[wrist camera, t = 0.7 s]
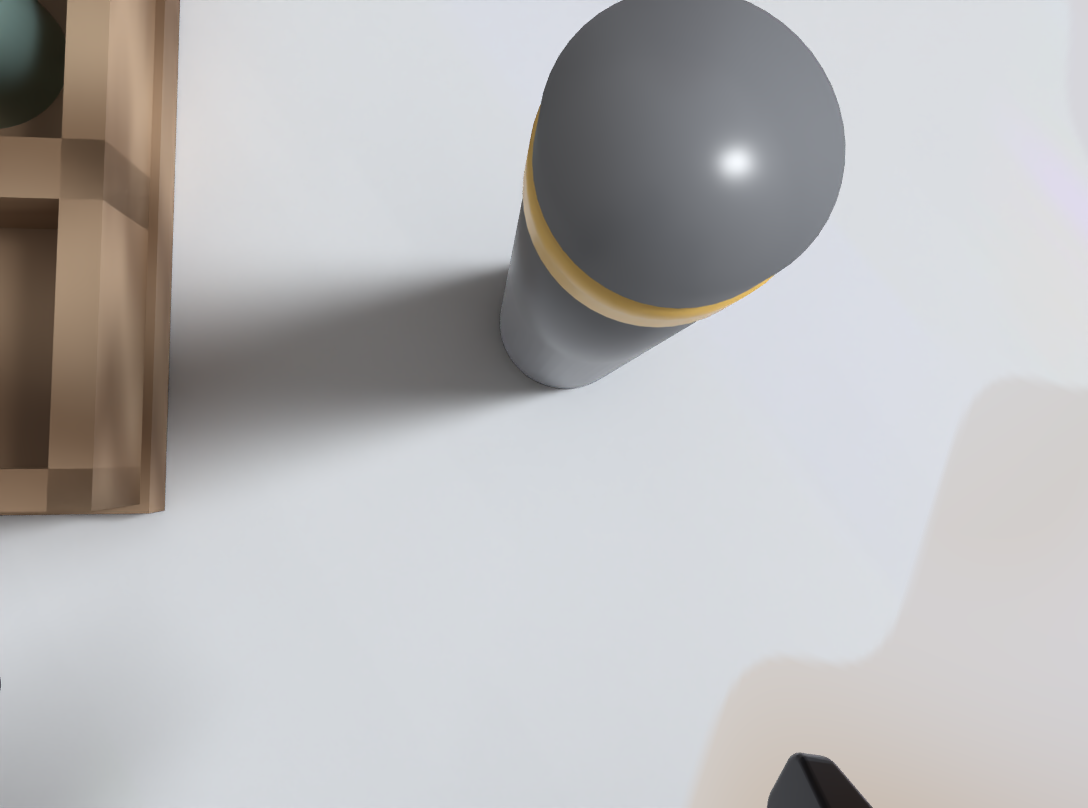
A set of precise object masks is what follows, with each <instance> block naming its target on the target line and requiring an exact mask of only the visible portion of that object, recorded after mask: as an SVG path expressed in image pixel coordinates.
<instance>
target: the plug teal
mask: <svg viewBox="0 0 1088 808" xmlns="http://www.w3.org/2000/svg"><path fill="white" fill-rule="evenodd" d="M65 45H66V39H65V36H64V33H63V31H62V29H61V27H60V26H59V24H58V23H57V21H56V20H55V19H54V17H53V16H52V15H51V14H50V13H49V12H48V11H47V10H46V9H45V8H44V7H43V6H42V4H41V3H40V2H39V1H38V0H0V129H2V128H9V127H13V126H16V125H20V124H22V123H25V122H27V121H29V120H31V119H33V118H35V117H36V116H38V115H39V114H41V113H42V112H43V111H45V110H46V109H47V108H48V107H49V106H50V105H51V104H52V103H53V101H54V100H55V99H56V98H57V96H58V95H59V93H60V91H61V90H62V88H63V85H64V69H65Z"/></svg>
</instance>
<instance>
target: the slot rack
mask: <svg viewBox="0 0 1088 808" xmlns="http://www.w3.org/2000/svg"><path fill="white" fill-rule="evenodd" d="M38 1H39V2H40V3H41V4H42V6H43V7H44V8H45V9H46V10H47V11H48V12H49V13H50V14H51V15H52V16H53V17H54V19H55V20H56V21H57V23H58V24H59V26H60V27H61V29H62V31H63V33H64V36H65V39H66V45H65V69H64V85H63V88H62V90H61V91H60V93H59V95H58V96H57V98H56V99H55V100H54V101H53V103H52V104H51V105H50V106H49V107H48V108H47V109H46V110H45V111H43V112H42V113H41V114H39V115H38V116H36V117H35V118H33V119H31V120H29V121H27V122H25V123H22V124H20V125H16V126H13V127H9V128H2V129H0V515H59V514H133V513H153V512H159V511H165V481H166V447H167V414H168V380H169V347H170V313H171V280H172V246H173V213H174V179H175V146H176V112H177V79H178V45H179V12H180V0H38Z"/></svg>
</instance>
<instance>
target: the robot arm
mask: <svg viewBox="0 0 1088 808" xmlns="http://www.w3.org/2000/svg"><path fill="white" fill-rule="evenodd" d="M0 688H1V679H0ZM767 808H872V806H871V805H870V804H869V803H868V802H867V801H866V799H865V798H864V797H863V796H862V795H861V794H860V792H859V791H858V790H857V789H856V788H855V786H853V784H852V783H851V782H850V781H849V779H848V778H847V777H846V776H845V775H844V773H843V772H842V771H841V770H840V769H839V768H838V766H836V764H835V763H834V762H833V761H831V760H830V759H828V758H827V757H824V756H819V755H812V754H805V753H795V754H793V755H792V756H791V757H790V758H789V759H788V761H787V763H786V765H785V767H784V769H783V770H782V772H781V774H780V776H779V778H778V780H777V782H776V783H775V785H774V787H773V789H772V791H771V793H770V796H769V799H768V805H767Z"/></svg>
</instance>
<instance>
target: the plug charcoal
mask: <svg viewBox="0 0 1088 808" xmlns="http://www.w3.org/2000/svg"><path fill="white" fill-rule="evenodd" d="M844 165H845V136H844V126H843V121H842V117H841V112H840V108H839V104H838V102H837V99H836V96H835V93H834V91H833V88H832V86H831V84H830V82H829V80H828V78H827V76H826V74H825V72H824V70H823V68H822V67H821V65H820V64H819V62H818V61H817V59H816V58H815V56H814V55H813V53H812V52H811V51H810V50H809V49H808V47H807V46H806V45H805V44H804V43H803V42H802V40H801V39H800V38H799V37H798V36H797V35H796V34H795V33H794V32H792V31H791V30H790V29H789V28H788V27H787V26H786V25H785V24H784V23H782V22H781V21H779V20H778V19H776V18H775V17H774V16H772V15H771V14H769V13H768V12H766V11H765V10H763V9H761V8H759V7H757V6H755V5H753V4H751V3H750V2H747V1H745V0H623V1H620V2H618V3H616V4H614V5H612V6H611V7H609V8H607V9H606V10H604V11H602V12H601V13H599V14H598V15H596V16H595V17H594V18H593V19H592V20H590V21H589V22H588V23H587V24H585V25H584V26H583V27H582V28H581V29H580V30H579V31H578V32H577V33H576V35H575V36H574V37H573V38H572V39H571V40H570V41H569V43H568V44H567V45H566V47H565V48H564V50H563V51H562V53H561V54H560V55H559V57H558V59H557V61H556V63H555V65H554V67H553V69H552V71H551V73H550V75H549V78H548V81H547V83H546V86H545V89H544V92H543V96H542V101H541V105H540V107H539V110H538V112H537V115H536V118H535V121H534V124H533V129H532V134H531V139H530V144H529V149H528V155H527V160H526V166H525V171H524V178H523V199H522V204H521V209H520V215H519V220H518V225H517V230H516V235H515V240H514V246H513V251H512V256H511V261H510V266H509V271H508V276H507V282H506V287H505V292H504V297H503V302H502V307H501V313H500V332H501V337H502V341H503V344H504V347H505V349H506V351H507V353H508V355H509V357H510V358H511V360H512V361H513V363H514V364H515V365H516V366H517V367H518V368H519V369H520V370H521V371H522V372H523V373H524V374H525V375H527V376H528V377H530V378H531V379H533V380H535V381H537V382H539V383H541V384H544V385H547V386H550V387H555V388H564V389H568V388H578V387H583V386H586V385H589V384H591V383H593V382H595V381H597V380H599V379H601V378H603V377H604V376H606V375H608V374H609V373H611V372H613V371H614V370H616V369H618V368H619V367H621V366H623V365H624V364H626V363H628V362H629V361H631V360H633V359H634V358H636V357H638V356H639V355H641V354H643V353H644V352H646V351H648V350H649V349H651V348H653V347H654V346H656V345H658V344H659V343H661V342H663V341H664V340H666V339H668V338H669V337H671V336H673V335H674V334H676V333H678V332H679V331H681V330H683V329H685V328H686V327H688V326H690V325H691V324H693V323H695V322H696V321H698V320H701V319H704V318H707V317H709V316H711V315H713V314H715V313H717V312H719V311H721V310H723V309H724V308H726V307H728V306H729V305H731V304H733V303H735V302H736V301H738V300H740V299H741V298H743V297H745V296H747V295H748V294H750V293H751V292H753V291H754V290H756V289H757V288H759V287H760V286H762V285H763V284H765V283H766V282H767V281H768V280H769V279H770V278H771V277H773V276H774V275H775V274H776V273H778V272H779V271H781V270H782V269H784V268H785V267H786V266H788V265H789V264H791V263H792V262H793V261H794V260H795V259H796V258H798V257H799V256H800V255H801V254H802V253H803V252H804V251H805V250H806V249H807V248H808V247H809V246H810V244H811V243H812V242H813V241H814V240H815V238H816V237H817V236H818V235H819V233H820V231H821V230H822V228H823V227H824V225H825V223H826V222H827V220H828V218H829V216H830V214H831V212H832V210H833V207H834V205H835V203H836V200H837V197H838V194H839V190H840V187H841V184H842V178H843V172H844Z"/></svg>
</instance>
